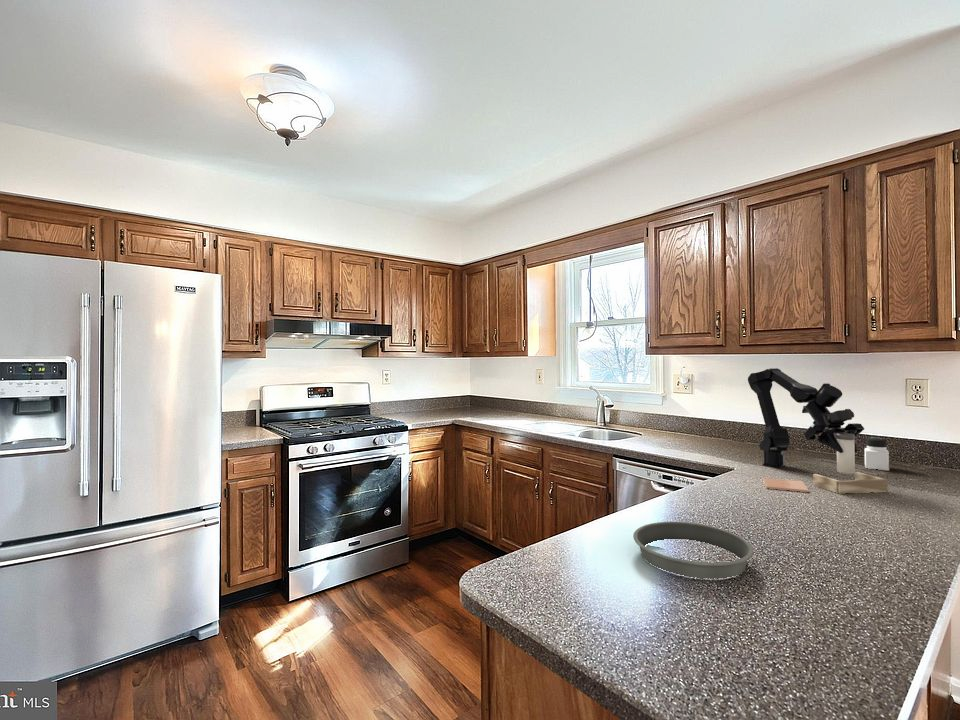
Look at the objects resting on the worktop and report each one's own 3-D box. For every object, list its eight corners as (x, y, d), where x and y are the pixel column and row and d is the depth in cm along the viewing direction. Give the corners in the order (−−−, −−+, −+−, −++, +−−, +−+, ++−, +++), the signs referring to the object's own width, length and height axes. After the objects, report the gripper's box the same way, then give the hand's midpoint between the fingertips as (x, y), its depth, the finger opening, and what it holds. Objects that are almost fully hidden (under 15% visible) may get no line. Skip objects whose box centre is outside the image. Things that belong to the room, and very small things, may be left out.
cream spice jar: (835, 472, 159) (834, 434, 159) (838, 469, 162) (837, 432, 162) (853, 474, 155) (853, 435, 155) (856, 471, 159) (856, 433, 159)
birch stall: (813, 485, 162) (813, 474, 162) (858, 483, 164) (857, 471, 164) (839, 494, 151) (839, 482, 151) (887, 491, 153) (887, 479, 153)
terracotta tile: (763, 480, 170) (763, 478, 170) (802, 483, 164) (802, 481, 164) (766, 488, 159) (766, 486, 159) (808, 492, 154) (808, 490, 154)
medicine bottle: (889, 471, 180) (889, 440, 180) (865, 468, 184) (865, 438, 184) (887, 467, 186) (887, 437, 186) (864, 465, 190) (864, 435, 190)
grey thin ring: (654, 531, 123) (654, 514, 123) (762, 555, 107) (762, 535, 107) (616, 564, 104) (616, 543, 104) (741, 598, 88) (740, 575, 88)
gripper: (810, 401, 162) (838, 439, 151) (859, 400, 164) (890, 437, 153) (793, 421, 169) (818, 458, 159) (839, 419, 171) (868, 456, 161)
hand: (849, 452), depth 157 cm, fingers closed on cream spice jar, 5 cm apart
